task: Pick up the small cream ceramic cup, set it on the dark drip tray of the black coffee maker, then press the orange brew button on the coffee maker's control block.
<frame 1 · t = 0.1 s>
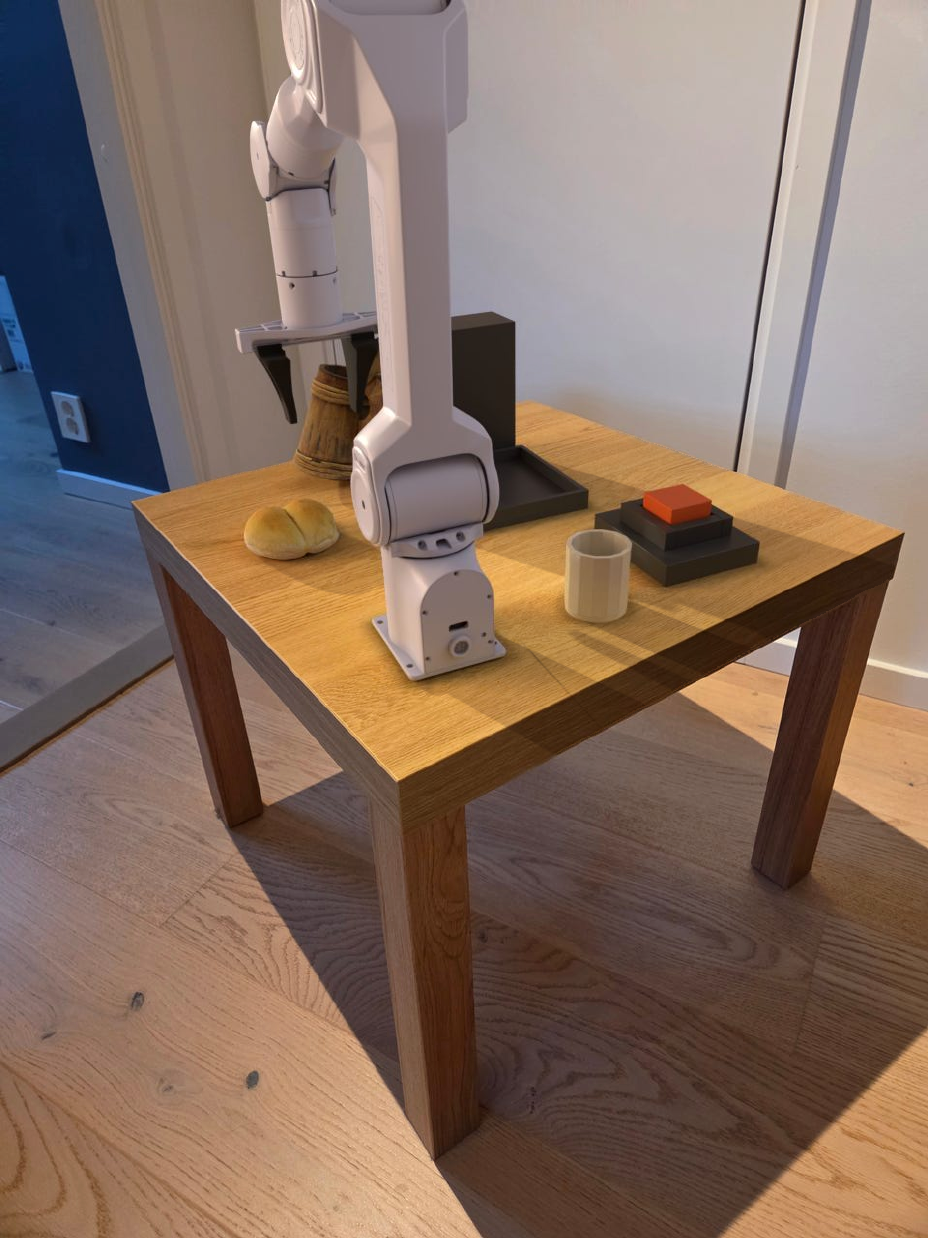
hand: (324, 415, 86), 10 cm above the table, tool pointing down, fingers open, 6 cm apart
cream cup: (595, 606, 72), on the table
wooden mug: (344, 477, 97), point 1 cm above the table, touching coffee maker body, gripper
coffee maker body: (459, 461, 101), on the table
brew button: (676, 504, 78), point 4 cm above the table, slide at 0.1 cm
control block: (672, 548, 81), on the table
bread roll: (295, 544, 84), on the table
drip tray: (499, 494, 93), on the table
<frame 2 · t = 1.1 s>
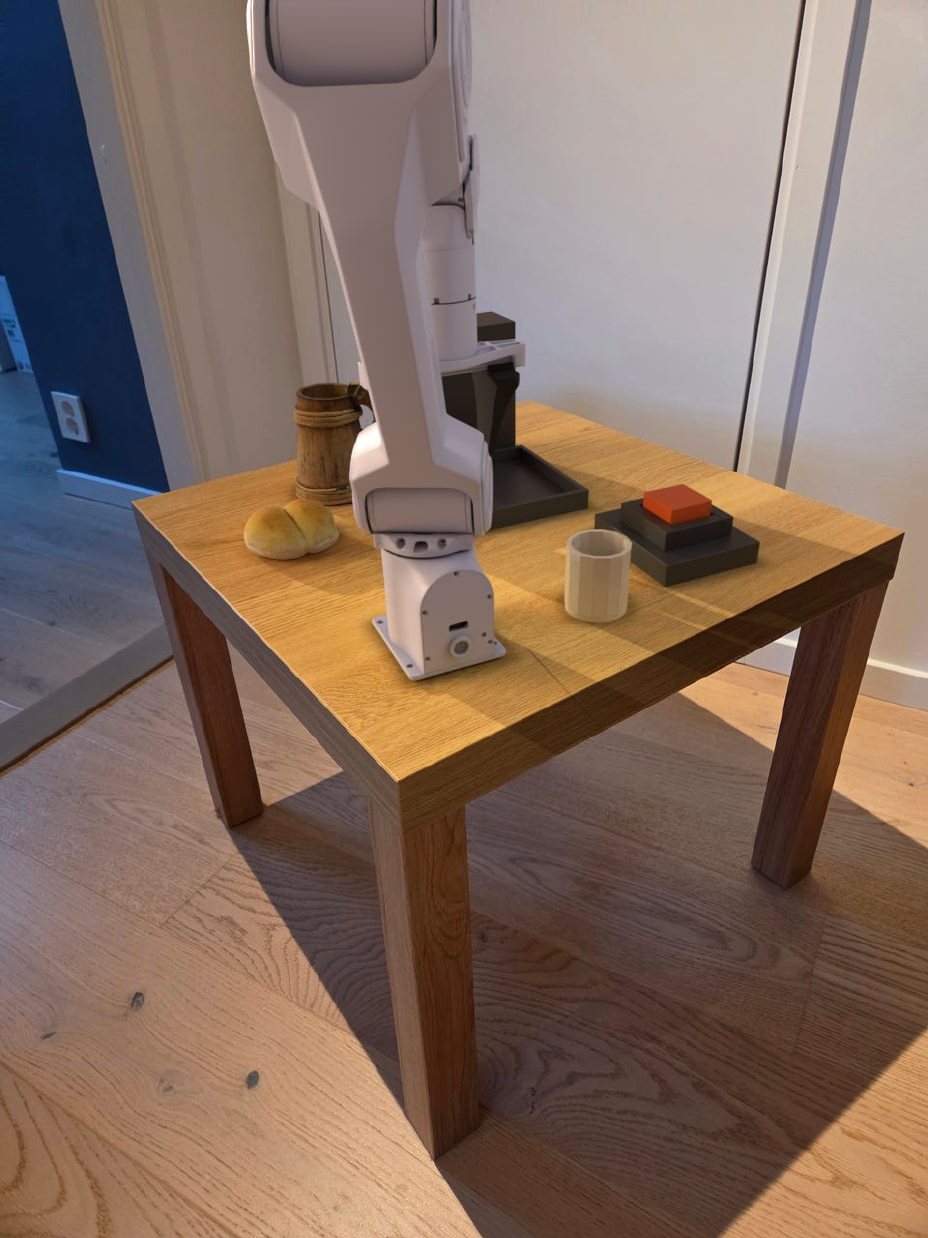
hand: (448, 456, 76), 10 cm above the table, tool pointing down, fingers open, 7 cm apart
wooden mug: (356, 491, 95), on the table
everything else where it was.
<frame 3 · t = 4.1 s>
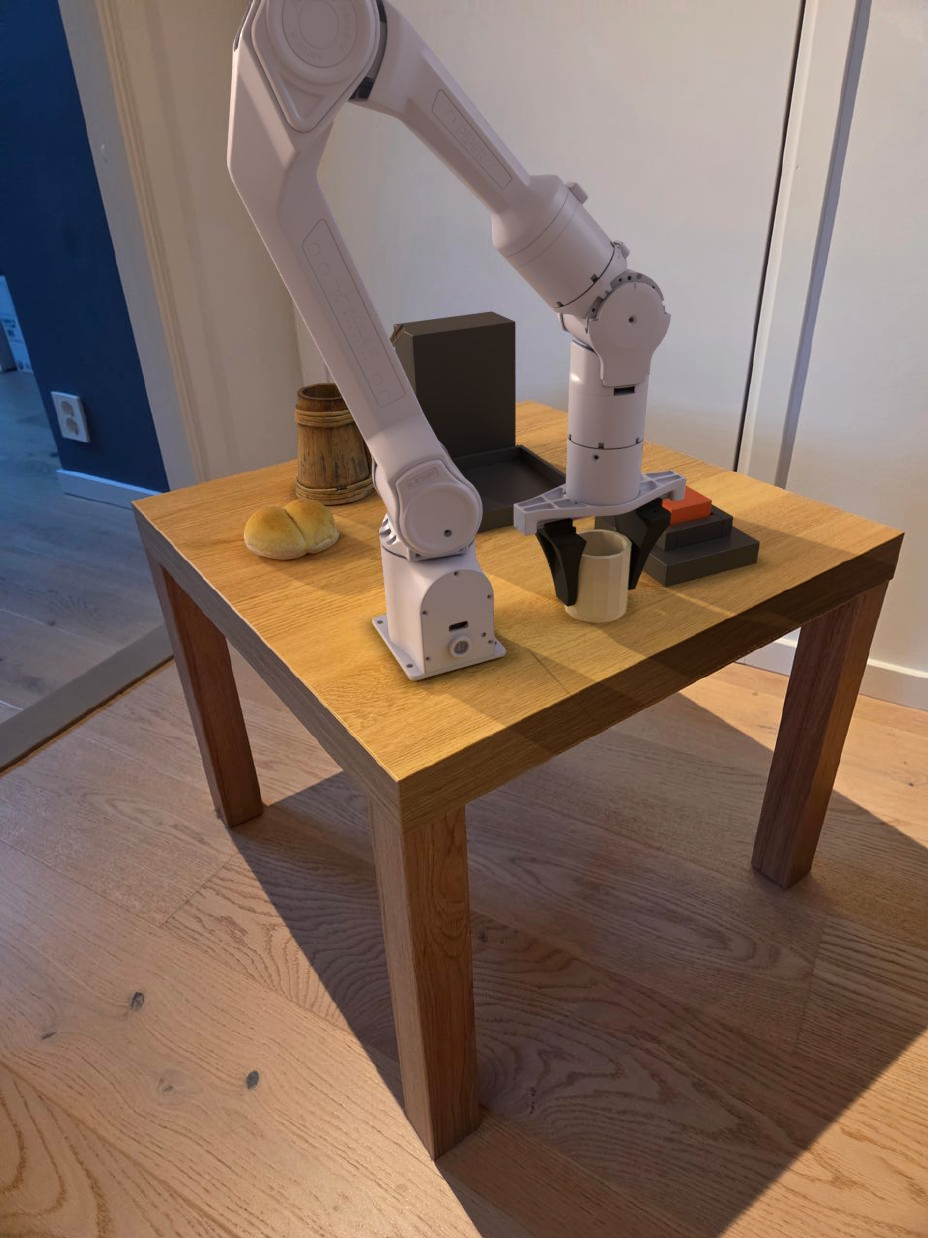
hand: (596, 592, 71), 1 cm above the table, tool pointing down, fingers closed on cream cup, 5 cm apart
cream cup: (595, 606, 72), on the table, touching gripper
everything else where it was.
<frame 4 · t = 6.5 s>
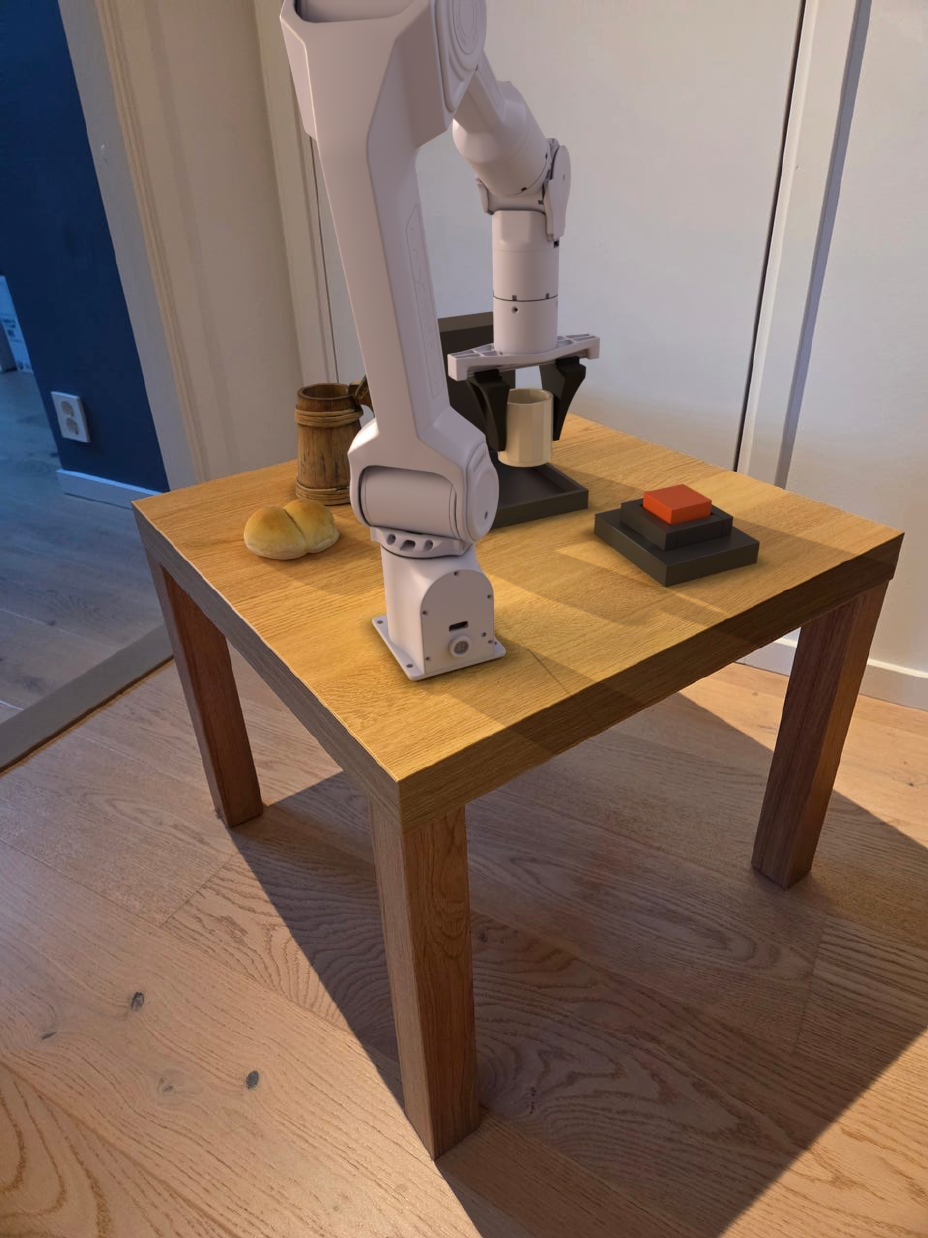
hand: (525, 442, 82), 8 cm above the table, tool pointing down, fingers closed on cream cup, 5 cm apart
cream cup: (524, 456, 83), point 7 cm above the table, touching gripper
everything else where it was.
when the fingers open (2 cm above the table, at t = 9.3 s): cream cup stays where it is, resting on drip tray.
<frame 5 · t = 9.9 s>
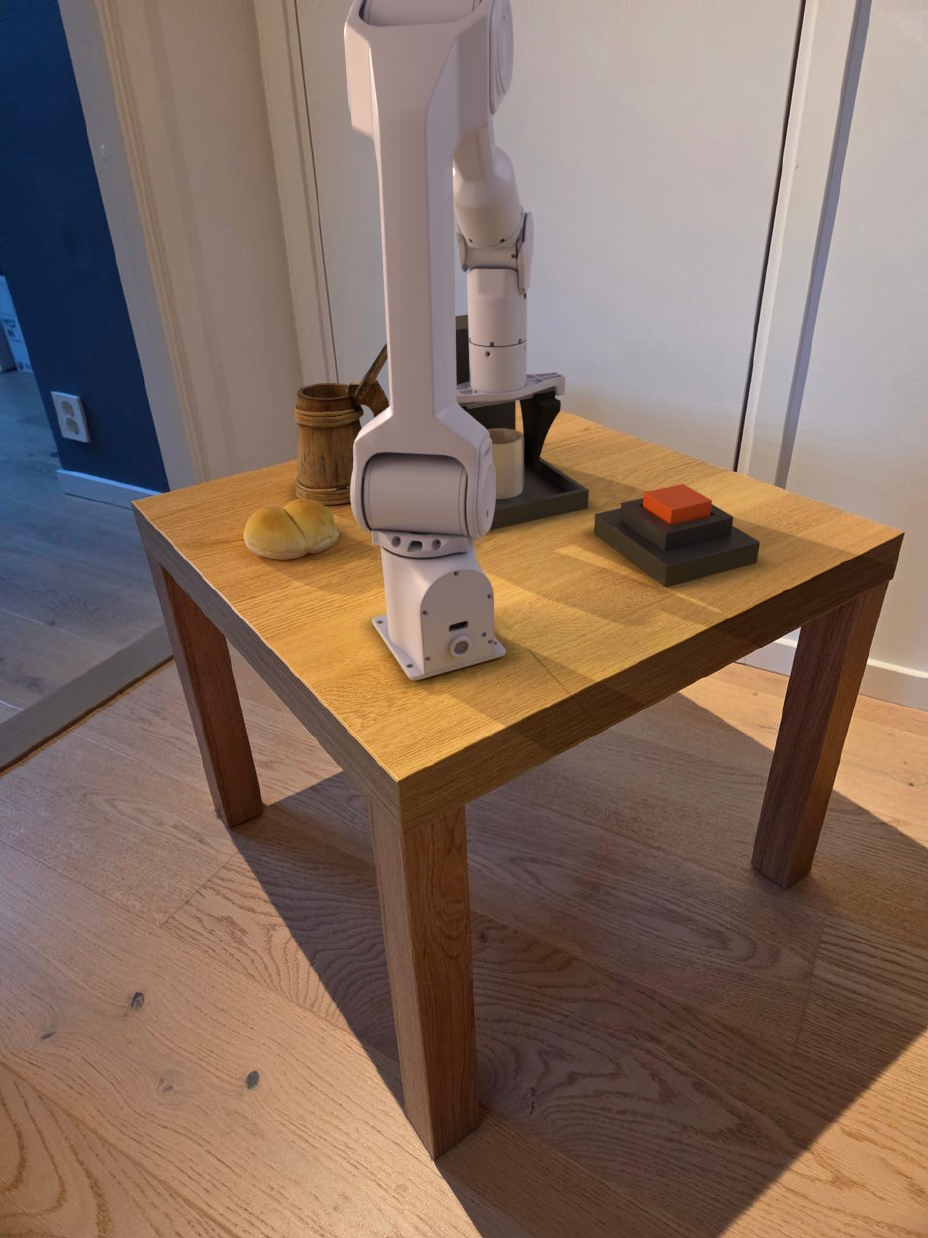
hand: (499, 469, 91), 3 cm above the table, tool pointing down, fingers open, 7 cm apart
cream cup: (499, 489, 92), point 1 cm above the table, touching drip tray
everything else where it was.
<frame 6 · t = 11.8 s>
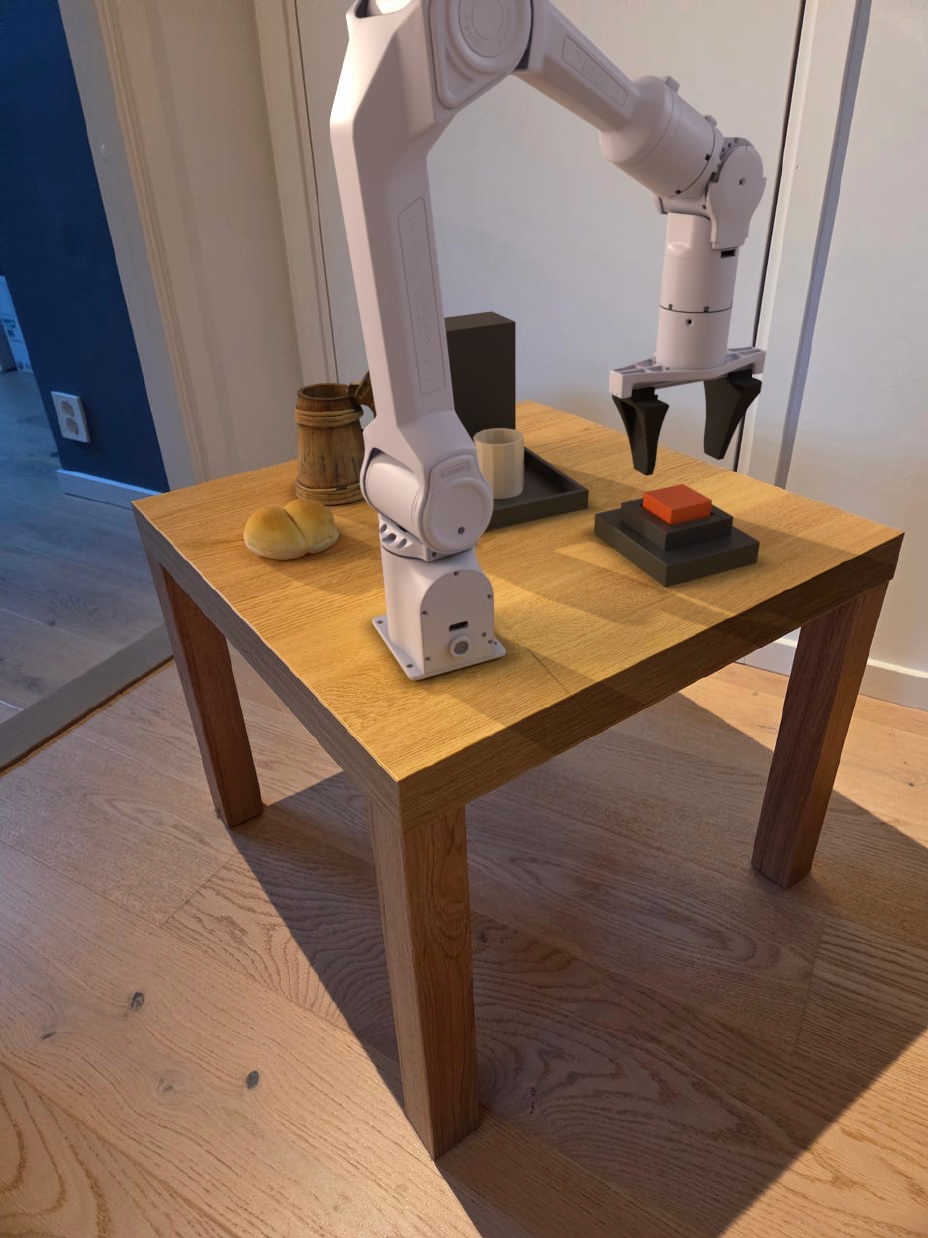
hand: (679, 463, 76), 8 cm above the table, tool pointing down, fingers open, 7 cm apart
nothing on the table moved.
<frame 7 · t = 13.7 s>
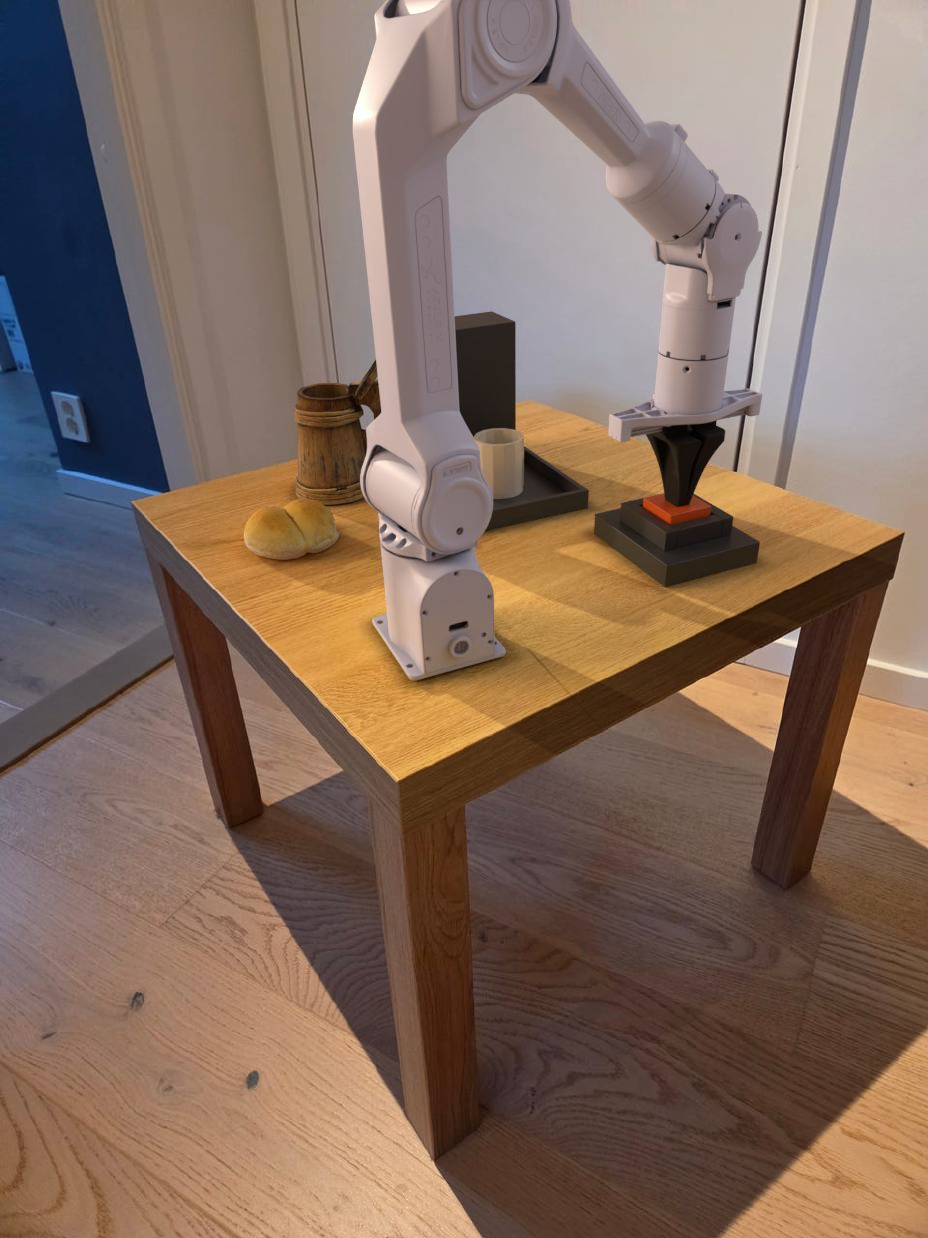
hand: (677, 502, 78), 5 cm above the table, tool pointing down, fingers closed, pressing on brew button
brew button: (676, 510, 79), point 4 cm above the table, slide at -0.5 cm, touching gripper
everything else where it was.
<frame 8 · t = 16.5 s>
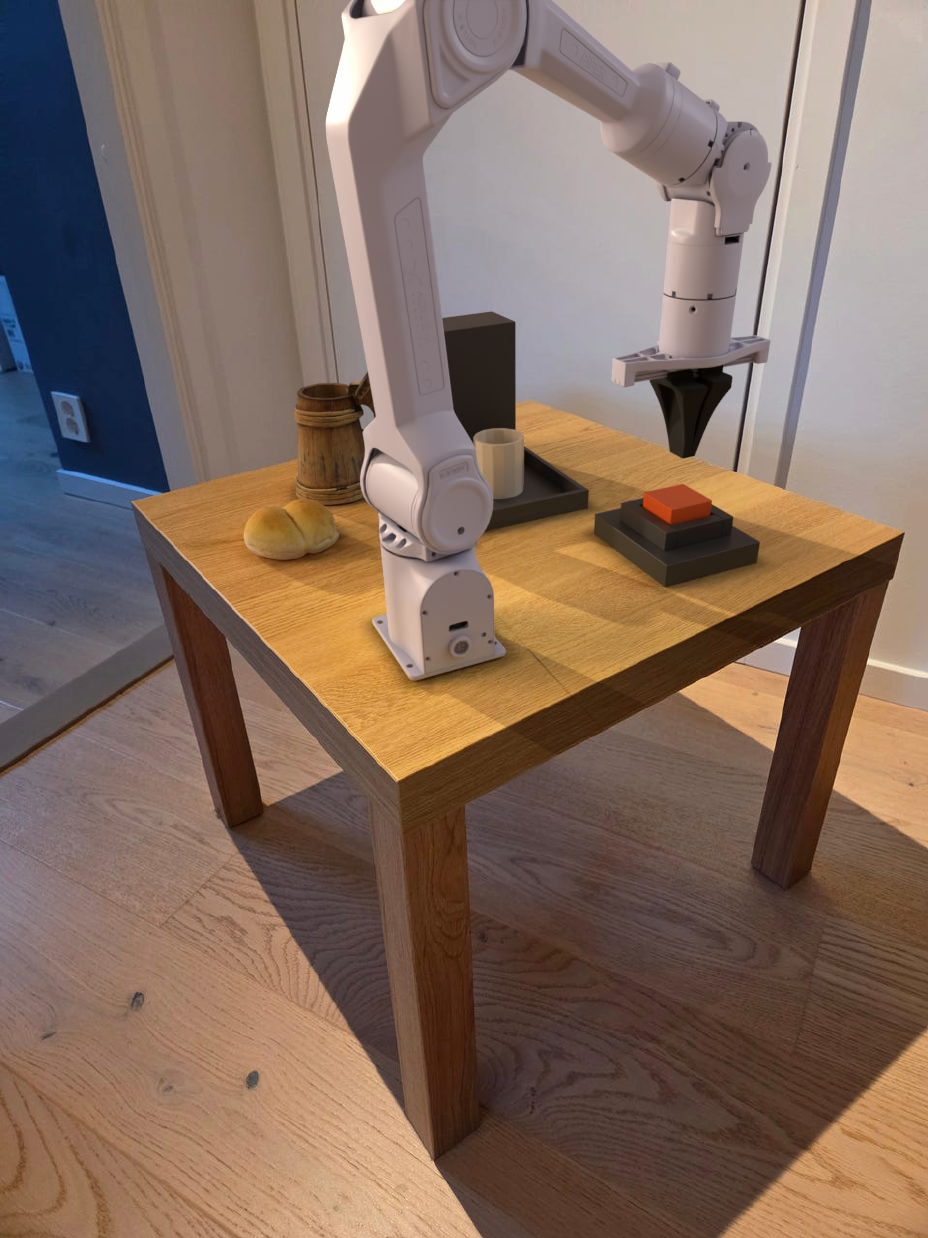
hand: (682, 453, 76), 9 cm above the table, tool pointing down, fingers closed
brew button: (676, 504, 78), point 4 cm above the table, slide at 0.1 cm
everything else where it was.
at the end: cream cup inside the target area in the drip tray (0.0 cm from its centre), point 0.6 cm above the drip tray's base; cream cup tilted 0°; brew button pushed in 1.2 cm at the most during the clip, back to where it started at the end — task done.
